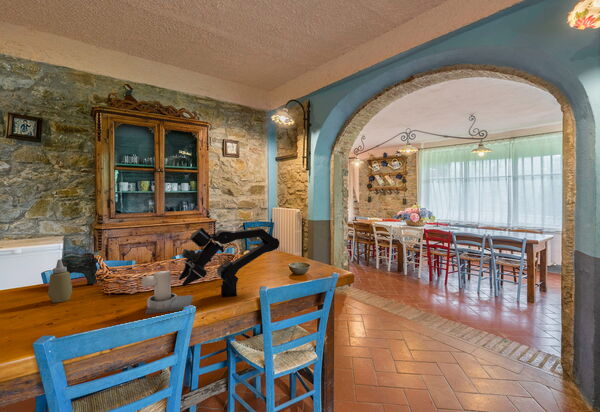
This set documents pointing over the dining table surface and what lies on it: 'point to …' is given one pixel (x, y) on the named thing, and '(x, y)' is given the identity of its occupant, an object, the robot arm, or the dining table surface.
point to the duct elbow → (159, 285)
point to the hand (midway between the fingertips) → (181, 282)
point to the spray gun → (82, 264)
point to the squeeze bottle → (60, 284)
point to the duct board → (176, 307)
